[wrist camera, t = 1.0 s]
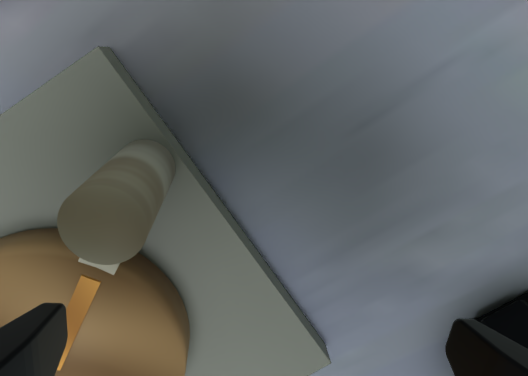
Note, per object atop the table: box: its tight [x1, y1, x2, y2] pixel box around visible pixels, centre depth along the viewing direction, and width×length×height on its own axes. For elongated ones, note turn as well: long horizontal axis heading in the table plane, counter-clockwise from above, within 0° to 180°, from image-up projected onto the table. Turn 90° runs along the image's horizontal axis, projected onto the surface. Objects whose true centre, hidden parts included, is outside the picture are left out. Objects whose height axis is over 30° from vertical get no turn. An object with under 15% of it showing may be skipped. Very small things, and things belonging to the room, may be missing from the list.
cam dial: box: [0, 139, 190, 376], centre depth 16 cm, size 17×12×6 cm
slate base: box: [0, 46, 331, 376], centre depth 20 cm, size 21×20×2 cm
